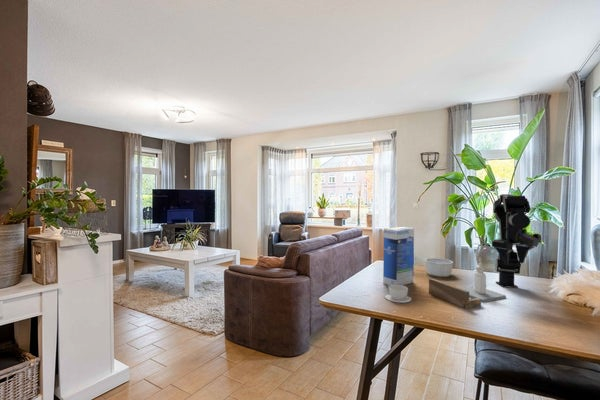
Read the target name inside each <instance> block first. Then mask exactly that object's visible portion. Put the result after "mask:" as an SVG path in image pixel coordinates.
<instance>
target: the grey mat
mask: <svg viewBox="0 0 600 400" xmlns="http://www.w3.org/2000/svg"><path fill="white" fill-rule="evenodd" d="M459 288H460V289H463V290H466V291H469V299H474V298H479V299H481V303H486V302H492V301H496V300H501V299H507V295H505V294H502V293H501V292H500V293H499V292H497V291H493V290H490V289H487V288H486V294H479V293H477V292H475V291H474V290H473V286H467V287H459Z"/></svg>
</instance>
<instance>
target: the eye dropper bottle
mask: <svg viewBox="0 0 600 400" xmlns="http://www.w3.org/2000/svg"><path fill="white" fill-rule="evenodd" d="M475 267H476V269H475V270H476V271H474V272H473V280H472V281H473V282H472V283H473V285H472V287H473V290H474V291H475V292H477V293H479V294H486V289H487V277H486V276H487V275H486V274H485V273H484V266H482V263H478V265H476V266H475Z"/></svg>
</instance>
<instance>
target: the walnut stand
mask: <svg viewBox="0 0 600 400" xmlns="http://www.w3.org/2000/svg"><path fill="white" fill-rule="evenodd" d="M460 288H461V287H456V286H455V285H451V284H449V283H446V282H442V281H441V280H438V279H435V278H428V293H429V294H430V295H433V296H435V297H438V298H440V299H442V300H445V301H448V302H450V303H451V304H454V305H457V306H459V307H462V308H464V309H470V308H477V307H481V306H482V302H481V299H479V298H474V299H473V298H470V297H469V291H466V290H463V289H460Z"/></svg>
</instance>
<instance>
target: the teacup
mask: <svg viewBox="0 0 600 400" xmlns="http://www.w3.org/2000/svg"><path fill="white" fill-rule="evenodd" d="M388 292H389V294H386V295H384V298H385V299H387V300H388V301H390V302H394V303H404V304H405V303H409V302H412V297H410V296H408V292H409V288H408V286H407V285H388Z"/></svg>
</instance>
